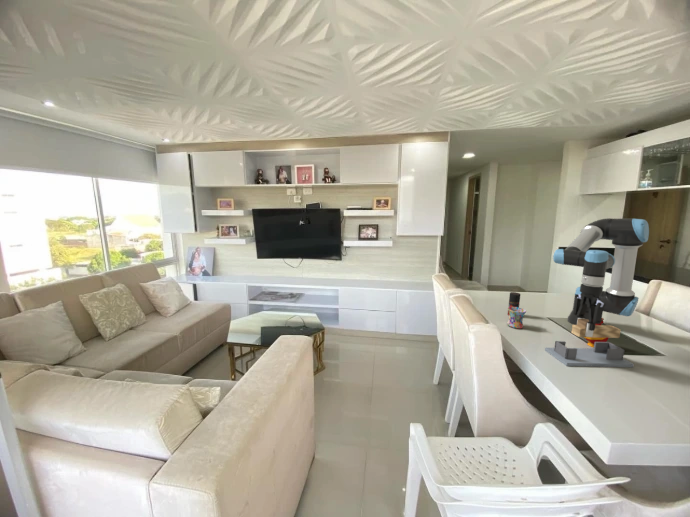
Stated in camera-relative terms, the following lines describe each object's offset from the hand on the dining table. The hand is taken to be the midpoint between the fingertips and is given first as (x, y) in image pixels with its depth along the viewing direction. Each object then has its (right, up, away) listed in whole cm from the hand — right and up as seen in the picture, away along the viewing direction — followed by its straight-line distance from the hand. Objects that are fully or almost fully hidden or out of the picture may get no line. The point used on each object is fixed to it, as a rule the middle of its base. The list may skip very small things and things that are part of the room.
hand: (583, 333), depth 128 cm
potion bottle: (+18, -10, +15) cm, 25 cm away
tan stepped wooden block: (+5, -1, 0) cm, 5 cm away
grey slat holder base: (+3, -12, +2) cm, 13 cm away
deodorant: (+1, -3, +55) cm, 55 cm away
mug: (-8, -6, +39) cm, 40 cm away
